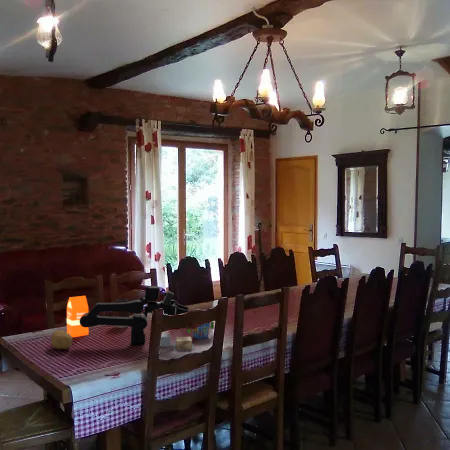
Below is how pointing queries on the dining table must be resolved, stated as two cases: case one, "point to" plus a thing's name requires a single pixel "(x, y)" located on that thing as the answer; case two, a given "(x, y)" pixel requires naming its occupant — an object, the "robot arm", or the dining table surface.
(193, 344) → the build mat
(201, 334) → the snack cup
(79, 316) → the orange juice
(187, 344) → the oak block
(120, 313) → the coffee cup
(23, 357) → the dining table surface
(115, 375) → the dining table surface
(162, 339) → the blue cube
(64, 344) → the potato
